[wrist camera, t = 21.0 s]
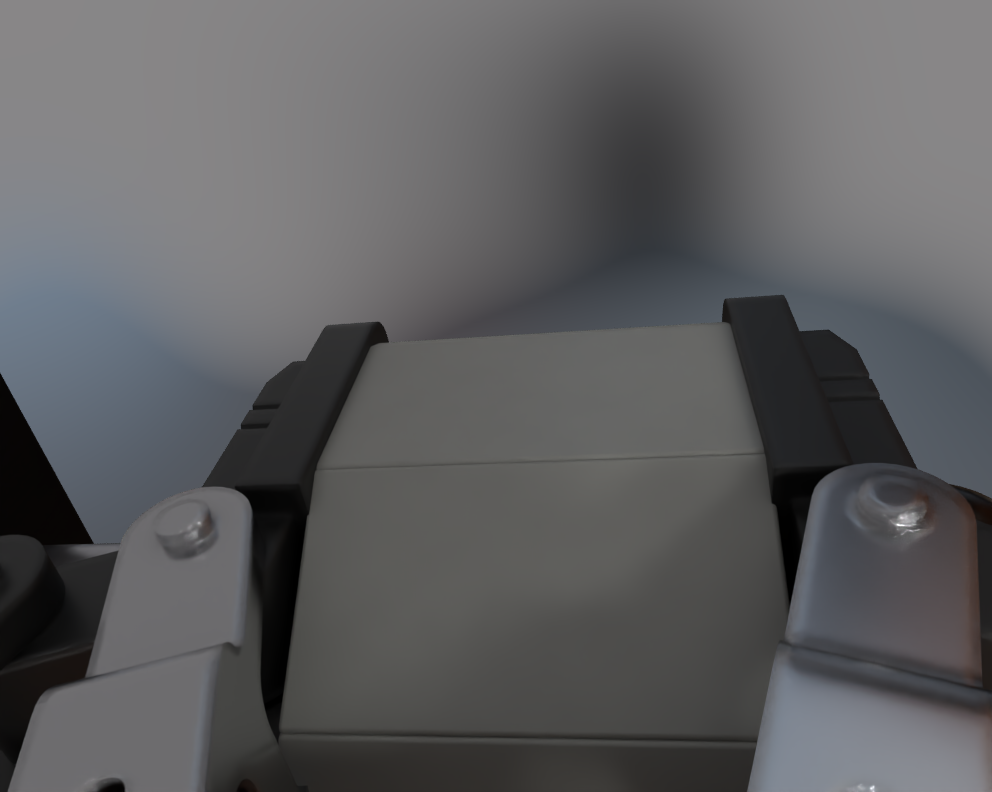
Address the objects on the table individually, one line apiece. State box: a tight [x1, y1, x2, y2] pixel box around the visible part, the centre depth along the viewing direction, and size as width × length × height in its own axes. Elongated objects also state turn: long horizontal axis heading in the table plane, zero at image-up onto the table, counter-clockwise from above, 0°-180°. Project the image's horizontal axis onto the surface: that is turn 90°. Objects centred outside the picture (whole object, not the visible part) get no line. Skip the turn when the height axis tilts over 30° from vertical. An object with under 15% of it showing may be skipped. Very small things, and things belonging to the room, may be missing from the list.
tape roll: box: [278, 322, 790, 792], centre depth 12 cm, size 5×10×10 cm, turn 174°
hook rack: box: [0, 374, 992, 567], centre depth 14 cm, size 16×8×16 cm, turn 84°
